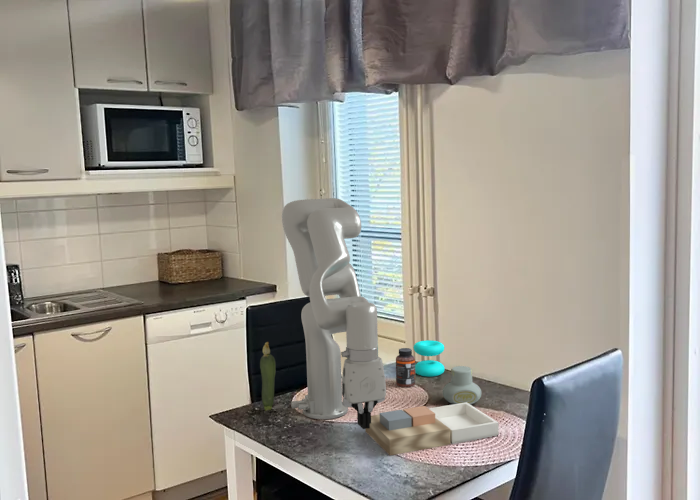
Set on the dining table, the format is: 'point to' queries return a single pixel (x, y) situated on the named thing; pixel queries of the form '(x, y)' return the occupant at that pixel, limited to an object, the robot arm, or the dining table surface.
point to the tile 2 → (420, 415)
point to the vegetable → (267, 377)
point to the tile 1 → (395, 420)
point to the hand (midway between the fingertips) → (364, 426)
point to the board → (408, 436)
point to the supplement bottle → (405, 368)
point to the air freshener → (461, 387)
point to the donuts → (429, 366)
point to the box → (466, 422)
